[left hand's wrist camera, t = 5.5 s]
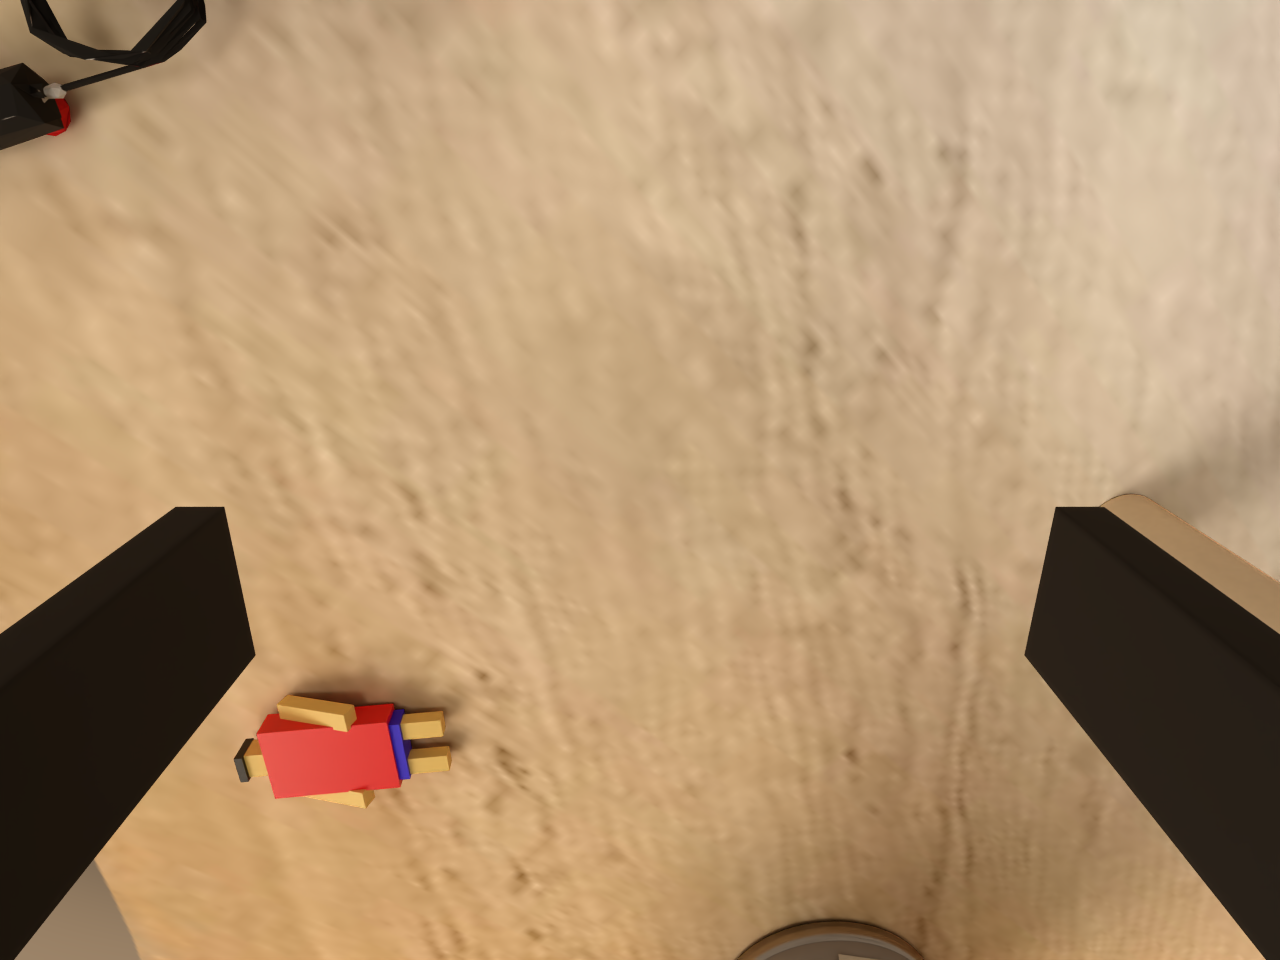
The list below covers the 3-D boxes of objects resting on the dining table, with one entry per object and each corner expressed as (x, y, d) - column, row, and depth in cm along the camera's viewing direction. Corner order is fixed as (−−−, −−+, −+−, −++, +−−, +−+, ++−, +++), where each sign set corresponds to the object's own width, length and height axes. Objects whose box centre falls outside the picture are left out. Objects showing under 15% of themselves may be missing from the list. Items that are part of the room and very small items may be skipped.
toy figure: (433, 707, 45) (220, 726, 45) (451, 800, 48) (249, 819, 47) (441, 681, 47) (238, 698, 47) (457, 771, 50) (265, 789, 49)
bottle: (1156, 557, 44) (1502, 816, 26) (1082, 565, 44) (1376, 827, 26) (1165, 490, 42) (1539, 716, 25) (1088, 498, 43) (1404, 729, 25)
